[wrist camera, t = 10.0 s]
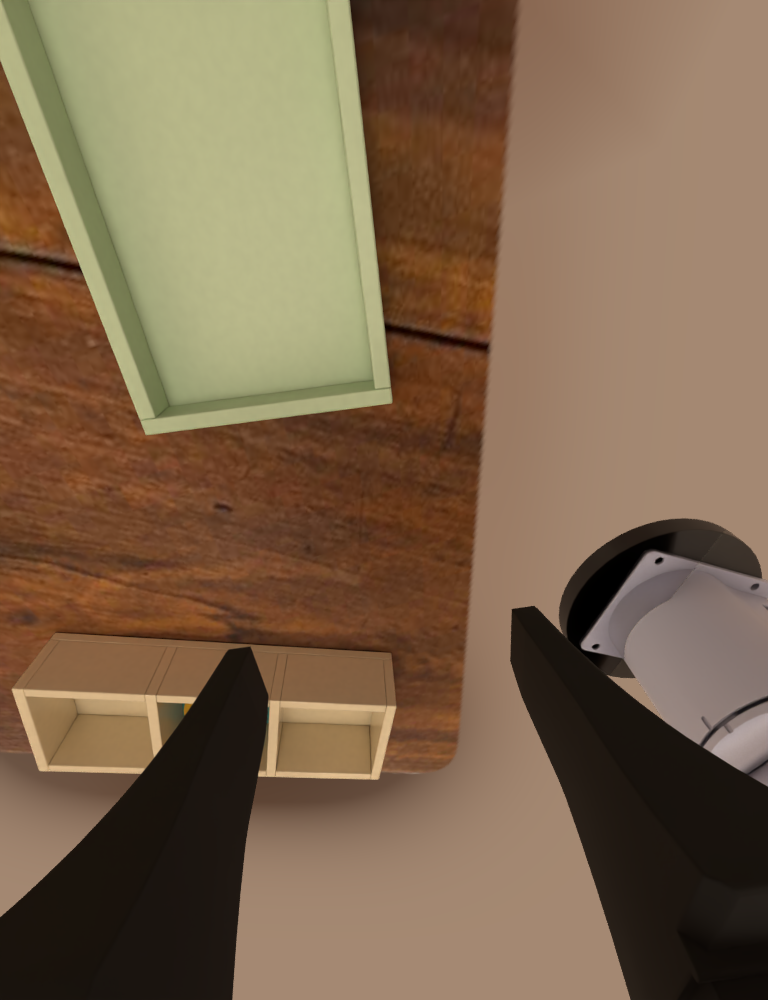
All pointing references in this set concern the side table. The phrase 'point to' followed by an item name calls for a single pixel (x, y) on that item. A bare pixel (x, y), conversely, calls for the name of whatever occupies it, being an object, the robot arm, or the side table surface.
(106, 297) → the tray
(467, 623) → the side table surface
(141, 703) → the three-compartment organizer
